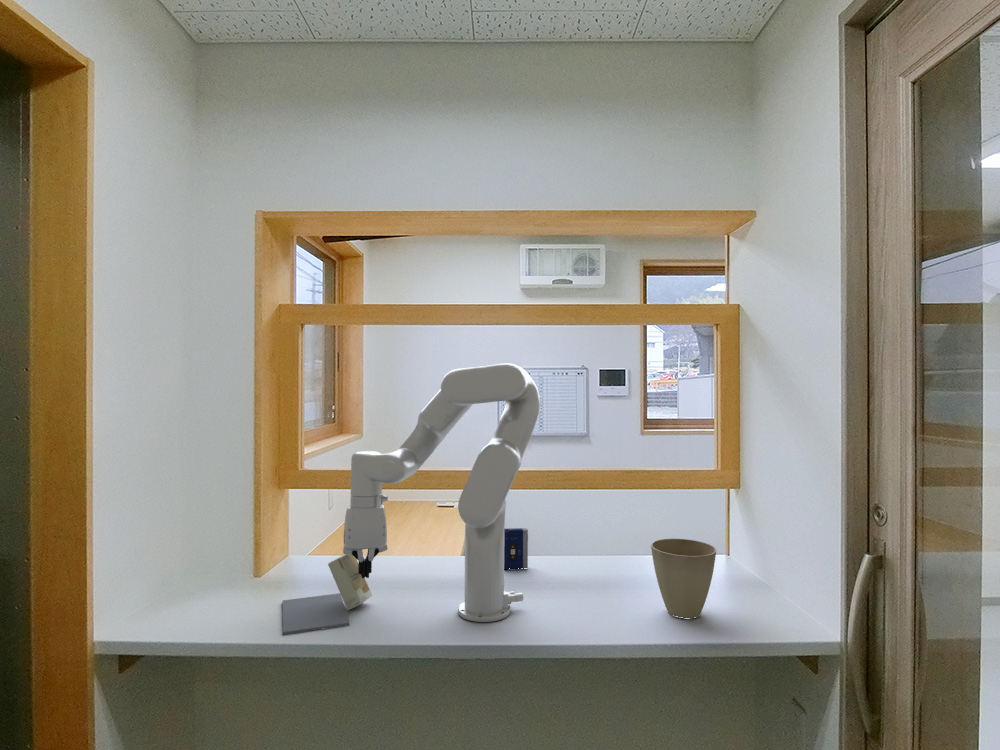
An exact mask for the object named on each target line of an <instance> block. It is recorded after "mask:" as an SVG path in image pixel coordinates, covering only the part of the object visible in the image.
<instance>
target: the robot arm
mask: <svg viewBox="0 0 1000 750" xmlns="http://www.w3.org/2000/svg"><path fill="white" fill-rule="evenodd" d="M496 402H505V407H504V409H503V412H502V414H501V416H500V418H499V421H498V424H497V426H496V428H495V430H494V432H493V435H492V437H491V439H490V441H489V442H488V444H486V445H485V446H483V448H481V450H480V452H479V453H478V455H477V457H476V460H475V461H474V463H473V466H472V468H471V471H470V473H469V475H468V477H467V480H466V483H465V485H464V487H463V489H462V491H461V494H460V497H459V499H458V506H457V509H458V514H459V517H460V519H461V521H462V522H463V523H465V525H464V526H465V527H464V601H463V602H461V603H460V604H459V605H458V607H457V613H458V615H459V617H461V618H462V619H465V620H467V621H472V622H477V623H493V622H496V621H501V620H504V619H506V618H507V617H508V616H509V615H511V612H512V611H511V610H512V609H511V604H512V603H517V602H523V601H524V594H523V592H517V593H516V592H515V591H513V590H512V591H505V570H504V531H505V529H506V528H505V525H506V524H505V523H506V521H505V520H506V498H507V496H508V493H509V491H510V489H511V487H512V484H513V482H514V481H515V477H516V475H517V473H518V471H519V469H520V467H521V466H522V465H521V464H522V461H523V457H524V454H525V452H526V451H527V447H528V445H529V443H530V441H531V438H532V434H533V432H534V430H535V428H536V425H537V422H538V418H539V415H540V412H541V397H540V391H539V389H538V387H537V385H536V383H535V381H534V380H533V378H532V377H531V376H530V374H529V372H527V371H526V370H525V369H524V368H523V367H521V366H519V365H517V364H514V363H510V362H509V363H508V362H507V363H506V362H505V363H498V364H488V365H482V366H475V367H474V366H473V367H463V368H454V369H452V370H450V371H448V372H447V373H446V374H445V375H444V377H443V378H442V380H441V381H440V389H439V390H438V392H437V393H435V395H434V396H433V397H432V398H431V400H429V401H428V403H427V404H426V405H425V407H423V408H422V410H421V411H420V413H419V415H418V417H417V424H416V426H415V427H414V429H413V431H412V432H411V433H410V435H409V436H408V438H406V440H405V441H403V443H402V445H400V447H399V448H398V449H396V450H394V451H390V452H388V453H387V452H386V453H381V452H379V451H376V450H358V451H355V452H354V453H353V454H352V455H351V461H350V462H351V463H350V506H347V507H346V511H345V516H344V517H345V518H344V528H343V545H344V546H343V549H342V553H343V555H345V554H346V555H353V556H354V557H355V558H356V559H357V562H358V564H359V566H358V573H359V574H361V577H362V578H365V579H369V578H370V574H371V573H372V571H373V570H372V565H373V564H372V563H373V562H372V561H373V560H374V558H375V557H377V556H378V554H379V553H383V552H386V551H387V550H388V545H387V542H388V530H387V516H386V515H387V514H386V510H385V505H383V504H384V502H387V501H388V497H389V496H388V495H384V494H383V483H385V484H389V485H394V484H399V483H402V482H403V481H406V480H407V479H408V478H410V477H413V475H414V474H416V473H417V471H419V469H420V468H421V467H422V465H424V464H425V462H426V461H427V460H428V459H429V458H430V457H431V455H432V454H433V453H434V452H435V450H436V449H437V448H438V447H439V445H440V444H441V443H442V442H443V441H444V439H445V438H446V437H447V436H448V434H449V433H450V432H451V430H453V428H454V427H455V426H456V425H457V424H458V422H459V421H460V420H461V419H462V417H464V416H465V414H466V413H467V412H468V411H469V410H470V409H471V407H473V405H477V404H489V403H496ZM363 550H367V553H366V556H365V557H364V554H363Z"/></svg>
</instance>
